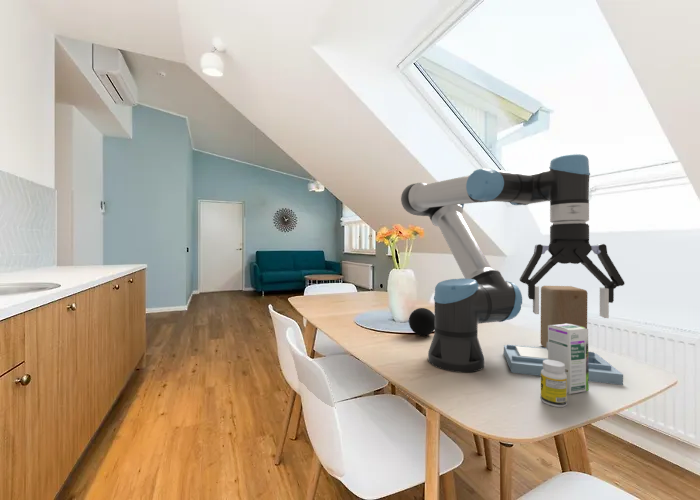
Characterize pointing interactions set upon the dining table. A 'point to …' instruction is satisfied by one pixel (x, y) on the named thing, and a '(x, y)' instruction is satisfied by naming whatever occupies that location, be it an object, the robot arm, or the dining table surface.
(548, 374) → the supplement bottle
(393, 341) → the dining table surface
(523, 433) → the dining table surface
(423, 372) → the dining table surface
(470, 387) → the dining table surface
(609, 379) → the compartment tray
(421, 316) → the decorative ball
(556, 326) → the syrup box
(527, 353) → the cover
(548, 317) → the wooden block
